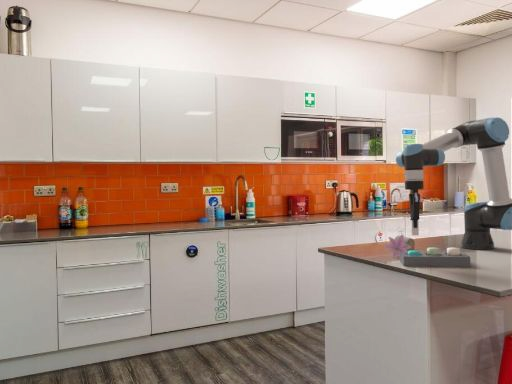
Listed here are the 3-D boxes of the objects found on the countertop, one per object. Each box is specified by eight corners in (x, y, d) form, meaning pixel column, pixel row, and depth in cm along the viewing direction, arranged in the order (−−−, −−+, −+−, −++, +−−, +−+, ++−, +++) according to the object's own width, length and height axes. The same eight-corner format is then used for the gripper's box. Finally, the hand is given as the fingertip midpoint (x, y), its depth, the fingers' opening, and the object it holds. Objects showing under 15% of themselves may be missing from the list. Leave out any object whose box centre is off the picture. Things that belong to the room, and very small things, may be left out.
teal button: (418, 259, 189) (418, 250, 189) (421, 261, 185) (420, 252, 184) (406, 259, 190) (406, 250, 190) (408, 261, 186) (408, 252, 185)
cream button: (458, 256, 186) (458, 247, 186) (461, 259, 181) (461, 249, 181) (445, 256, 187) (445, 247, 187) (448, 258, 182) (448, 249, 182)
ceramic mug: (408, 253, 212) (408, 237, 212) (393, 251, 218) (392, 236, 218) (418, 250, 219) (418, 235, 219) (403, 249, 225) (403, 234, 225)
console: (462, 261, 189) (462, 252, 189) (470, 266, 178) (470, 256, 178) (399, 260, 194) (399, 251, 194) (403, 265, 183) (403, 256, 182)
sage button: (438, 256, 188) (438, 247, 188) (441, 258, 183) (440, 249, 183) (426, 256, 189) (426, 247, 189) (428, 258, 184) (428, 249, 184)
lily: (379, 259, 204) (384, 243, 199) (385, 246, 214) (389, 230, 209) (405, 268, 200) (410, 252, 195) (410, 254, 209) (415, 238, 204)
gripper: (402, 180, 194) (403, 233, 194) (407, 180, 181) (408, 237, 181) (420, 179, 192) (421, 233, 193) (426, 180, 179) (427, 237, 180)
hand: (415, 235), depth 187 cm, fingers closed
